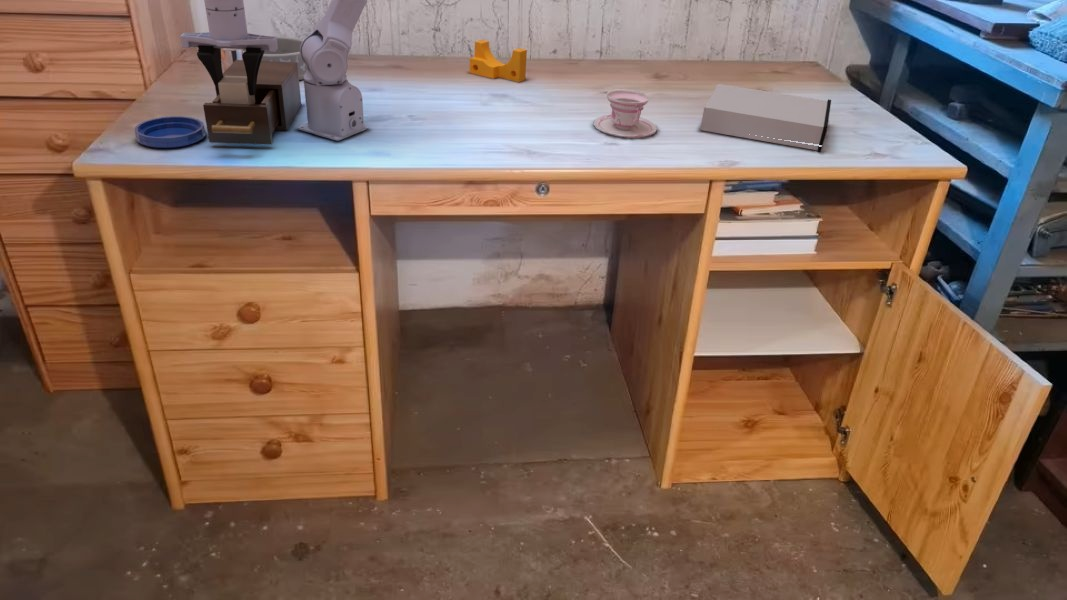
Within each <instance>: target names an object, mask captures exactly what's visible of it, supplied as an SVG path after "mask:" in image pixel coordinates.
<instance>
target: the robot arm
mask: <svg viewBox="0 0 1067 600" xmlns="http://www.w3.org/2000/svg"><path fill="white" fill-rule="evenodd" d="M203 2H204V7H205V14H206V20H207V26H208V32H207V31H205V32H183V33H182V34H180V36H179V37H180V43H181V48H182V49H190V48H197V51H198V52H196V56H197V58H198V60H199V61H200V62H201V64H202V65H203V67H204V68H205V70H206V71H207V72H208V75H209V77H210V78H211V81H212V83H213V85H214V88H215V87H216V89H215V91H216V90H217V93H218V94H220V93H219V86H218V83H219V82H220V81H221V80H222V79H223V78H224V77H223V73H224V71H223V63H222V58H221V48H226V49H246V52H244V53H243V54H242V58H243V61H244V65H245V69H246V74H247V83H248V91H249V95H254V94H255V93H256V84H257V76H258V71H259V67H260V63H261V60H262V57H263V55H264V51H265V50H269V51H270V52H276V51H277V49H278V44H277V37H273V35H272V36H270V35H262V34H256V33H255V34H254V33H250V32H249V33H248V26H247V19H246V11H245V3H244V0H204V1H203ZM367 2H368V0H330V3H329V5H328V7H327V9H326V11H325V13H324V15H323V17H321V19H320V20H319V21H318V22H317V23H316V25H315V26H314V29H313V30H312V31H311V33H310V34H308V35H306V36H305V38H304V39H302V40H303V42H302V44H301V47H300V55H301V58H302V60H303V61H304V63H305V64H306V65H307V66H308V68H307V70H306V73H305V74H304V76H303V78H304V79H303V88H304V98H305V99H304V100H305V108H306V118H307V122H306V123H303V124H301V125H298V126H297V127H296V128H297V130H298V131H302V132H305V133H309V134H312V135H314V136H315V135H316V136H319V137H322V138H326V139H329V140H333V141H337V142H338V141H341V140H343V139H346V138H349V137H352V136H353V135H356V134H358V133H361V132H364V131H365V130H367V129H368V126H367V125H365V121H364V103H363V95H362V92H361V90H360V89H359V87H357V86H355V85H353V84H352V83H350V82H349V81H348V79H347V78H348V77H347V71H348V67H349V66H348V64H349V63H348V62H349V61H348V59H349V54H350V52H351V49H352V43H353V41H352V40H353V32H354V30H355V28H356V26H357V23H358V22H359V19H360V17H361V14H362V12H363V11H364V8H365V6H366V4H367Z"/></svg>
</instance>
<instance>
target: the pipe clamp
mask: <svg viewBox="0 0 1067 600" xmlns="http://www.w3.org/2000/svg"><path fill="white" fill-rule="evenodd" d="M527 53H528V50H527V49H525V48H520V47H518V48H516V49H513V50H512V53H511V56H510V59H509V60H508V62H507V63H502V62H501V61H499V60H498V59H496V58H495V57H494V55H493V54H492V51H491V49H490V42H489V41H488V40H484V39H480V40H475V41H474V56H473V57H470V58H469V74H472V75H476V76H481V77H485V78H489V79H492V80H494V79H496V78H499V79H504V80H508V81H512V82H515V83H520V82H523V81H525V80H526V72H527Z"/></svg>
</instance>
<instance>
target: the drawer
mask: <svg viewBox="0 0 1067 600" xmlns="http://www.w3.org/2000/svg"><path fill="white" fill-rule="evenodd" d="M254 95H255V103H254V104H229V103H221V99H220V94H219V95H218V96H217V95H216V97H215V98H214V99H213V100H212V102H204V103H203V105H202V107H203V112H204V119H205V125H206V131H207V137H208V141H209V143H212V144H213V143H215V144H244V145H245V144H247V145H272V144H273V142H274V141H273V133H274V132H275V131H276V130H275V128H276V126H277V125H278V123H279V122H280V120H281V115H280V107H279V98H278V89H262V88H256V93H255V94H254Z"/></svg>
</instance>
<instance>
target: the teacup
mask: <svg viewBox="0 0 1067 600" xmlns="http://www.w3.org/2000/svg"><path fill="white" fill-rule="evenodd" d="M606 98H607V101H608V102H609V106H610V108H611V114H606V115H602V116H599V117H597V118H596V119H595V120H594V121H593V126H594V127H595V128H596V129H597V130H599V132H602V133H605V134H608V135H610V136H615V137H621V138H645V137H650V136H652V135H654V134H656V132H657V131H658V127H657V125H656V124H655V123H654V122H653V121H651V120H648V119H646V118H643V117H641V114H642V111H643V110H644V106H645V105H647V104H648V102H649V100H650V97H649V96H648V95H647V94H645V93H643V92H641V91H637V90H635V89H629V88H628V89H627V88H616V89H615V88H614V89H610V90H608V91H607V93H606Z"/></svg>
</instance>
